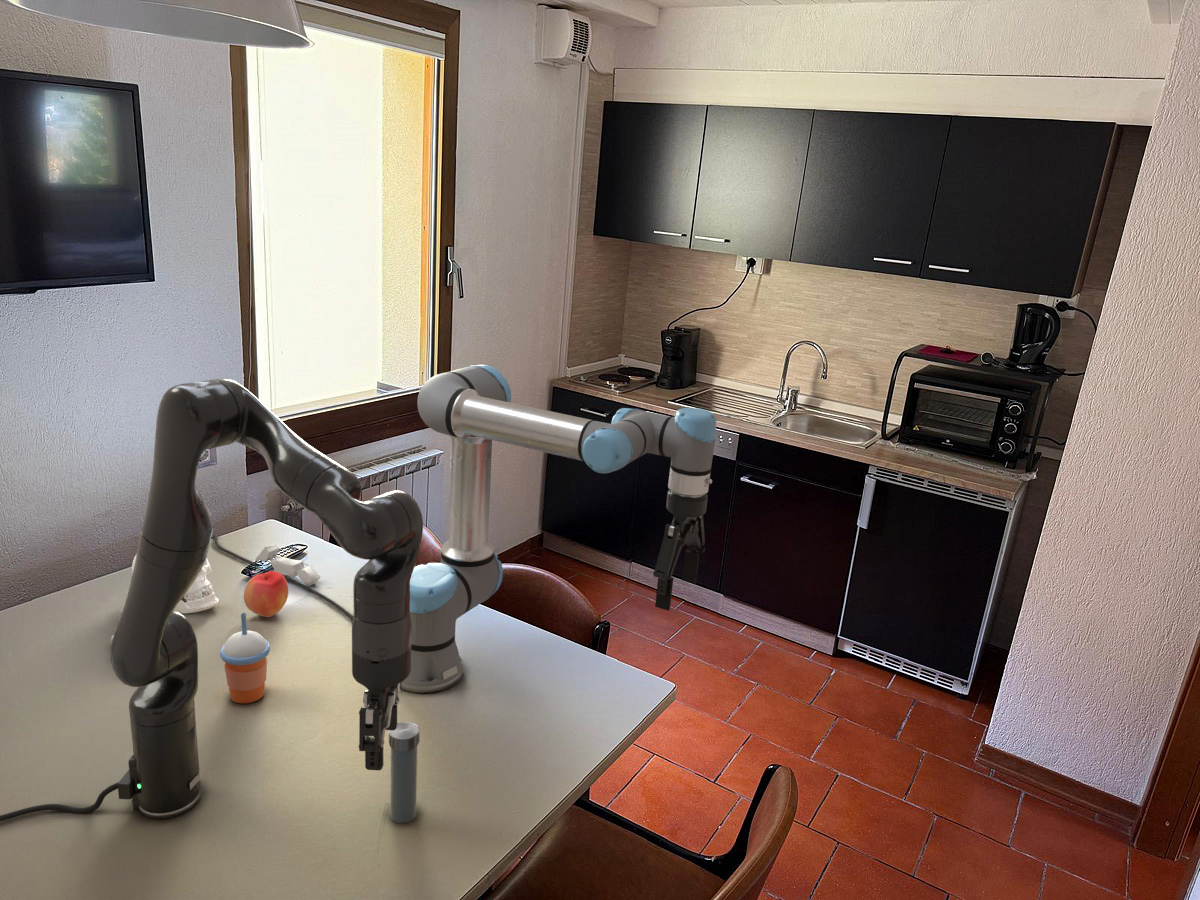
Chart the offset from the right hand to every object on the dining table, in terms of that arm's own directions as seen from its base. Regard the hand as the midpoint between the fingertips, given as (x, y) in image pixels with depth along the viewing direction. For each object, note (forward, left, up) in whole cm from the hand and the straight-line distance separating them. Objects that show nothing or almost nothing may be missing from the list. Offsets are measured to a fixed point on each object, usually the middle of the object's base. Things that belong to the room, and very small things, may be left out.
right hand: (676, 594), depth 165 cm
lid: (-26, -49, -12) cm, 57 cm away
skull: (-116, -21, -28) cm, 121 cm away
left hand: (-16, -66, -1) cm, 68 cm away
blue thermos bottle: (-26, -49, -28) cm, 62 cm away
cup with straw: (-73, -39, -28) cm, 88 cm away
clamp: (-107, +3, -28) cm, 110 cm away
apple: (-95, -14, -28) cm, 100 cm away
